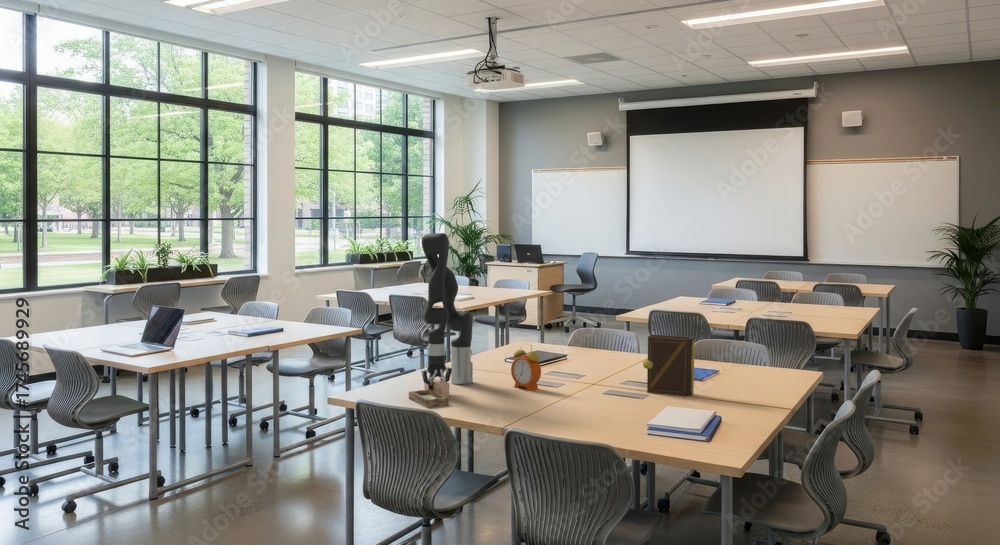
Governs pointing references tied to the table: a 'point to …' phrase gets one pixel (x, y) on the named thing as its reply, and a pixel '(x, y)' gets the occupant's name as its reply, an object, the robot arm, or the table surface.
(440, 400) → the picture frame
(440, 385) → the strip
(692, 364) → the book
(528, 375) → the alarm clock
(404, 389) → the table surface
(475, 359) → the table surface
